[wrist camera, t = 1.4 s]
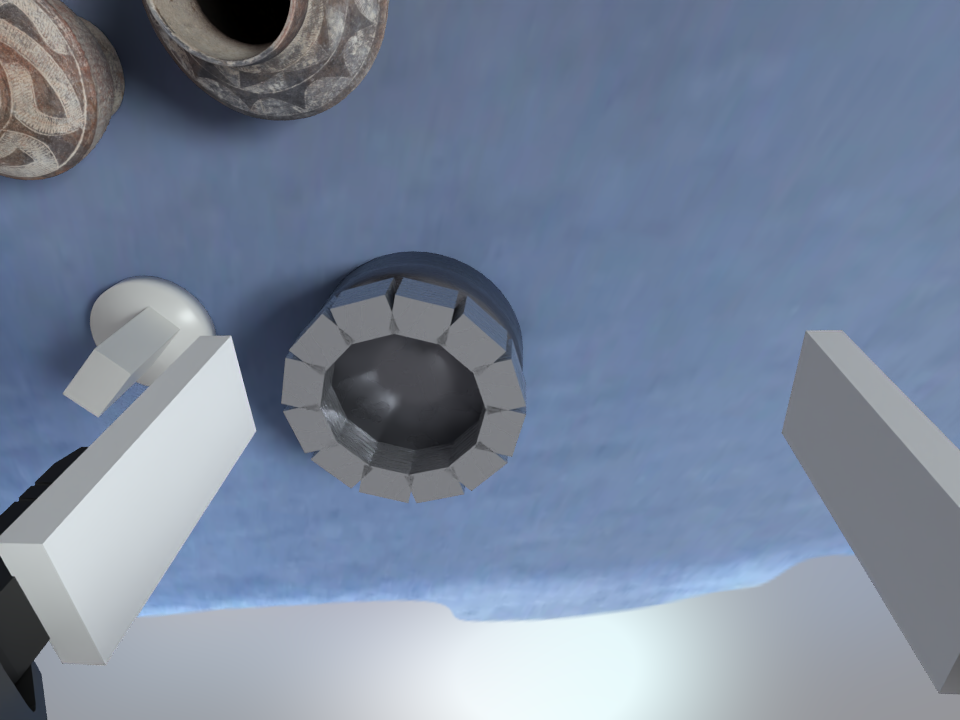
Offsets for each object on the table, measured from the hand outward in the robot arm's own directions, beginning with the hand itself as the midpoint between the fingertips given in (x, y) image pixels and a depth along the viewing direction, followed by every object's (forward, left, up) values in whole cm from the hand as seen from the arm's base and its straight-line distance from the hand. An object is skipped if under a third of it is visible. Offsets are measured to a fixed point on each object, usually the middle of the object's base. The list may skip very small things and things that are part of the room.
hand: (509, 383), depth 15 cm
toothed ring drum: (+4, -14, -25) cm, 29 cm away
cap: (-10, -26, -25) cm, 37 cm away
